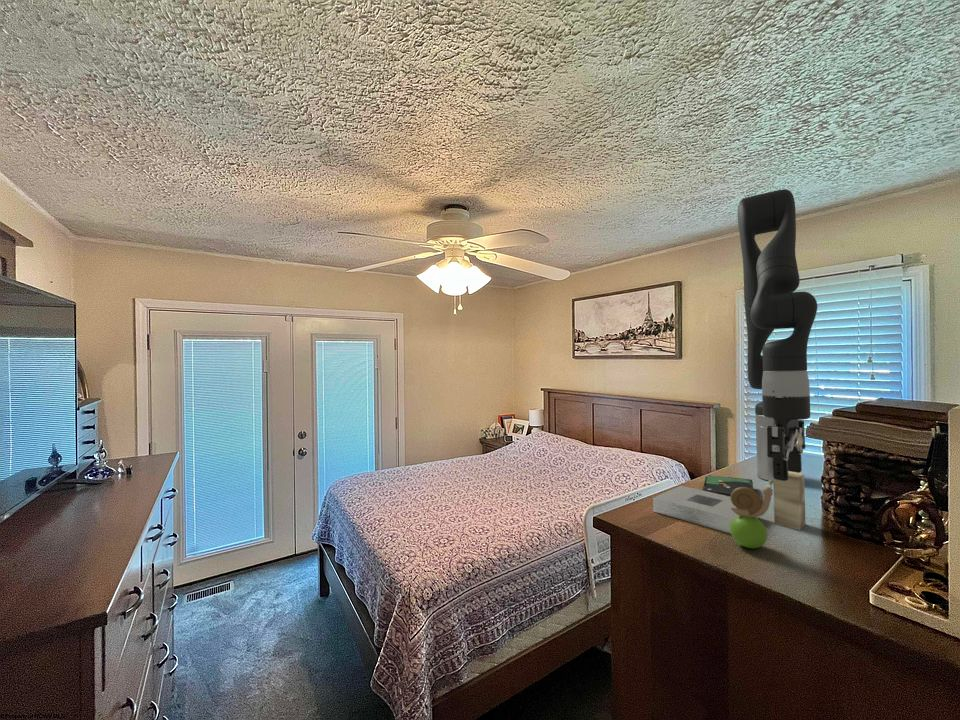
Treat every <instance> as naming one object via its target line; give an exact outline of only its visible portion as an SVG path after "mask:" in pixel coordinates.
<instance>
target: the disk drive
mask: <svg viewBox="0 0 960 720" xmlns="http://www.w3.org/2000/svg"><path fill="white" fill-rule="evenodd" d="M753 484H754V483H753V479H748V478H742V477H741V478H740V477H732V476H731V477H730V476H719V475H718V476H717V475H711V474H708V475H706V476H705V479H704V482H703V486H702V490H703V491H707V492H712V493H716V494H721V495H725V496H731V493H732V491H733V490H734V489H736V488H738V487H747V488H750V489H752V490H754V486H753Z"/></svg>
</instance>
